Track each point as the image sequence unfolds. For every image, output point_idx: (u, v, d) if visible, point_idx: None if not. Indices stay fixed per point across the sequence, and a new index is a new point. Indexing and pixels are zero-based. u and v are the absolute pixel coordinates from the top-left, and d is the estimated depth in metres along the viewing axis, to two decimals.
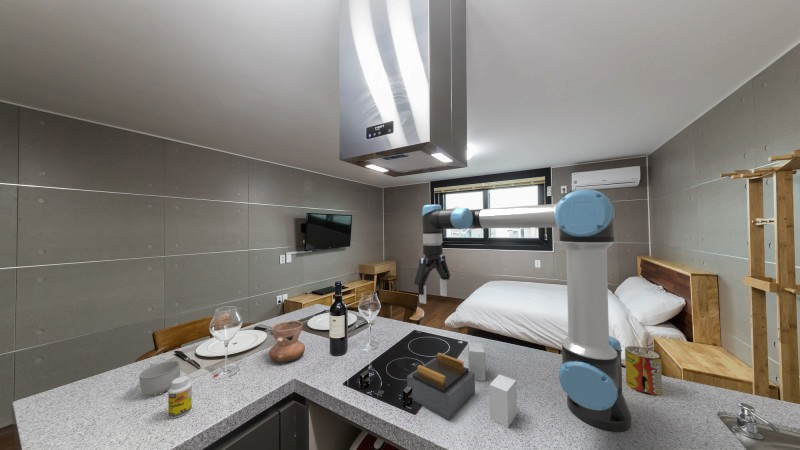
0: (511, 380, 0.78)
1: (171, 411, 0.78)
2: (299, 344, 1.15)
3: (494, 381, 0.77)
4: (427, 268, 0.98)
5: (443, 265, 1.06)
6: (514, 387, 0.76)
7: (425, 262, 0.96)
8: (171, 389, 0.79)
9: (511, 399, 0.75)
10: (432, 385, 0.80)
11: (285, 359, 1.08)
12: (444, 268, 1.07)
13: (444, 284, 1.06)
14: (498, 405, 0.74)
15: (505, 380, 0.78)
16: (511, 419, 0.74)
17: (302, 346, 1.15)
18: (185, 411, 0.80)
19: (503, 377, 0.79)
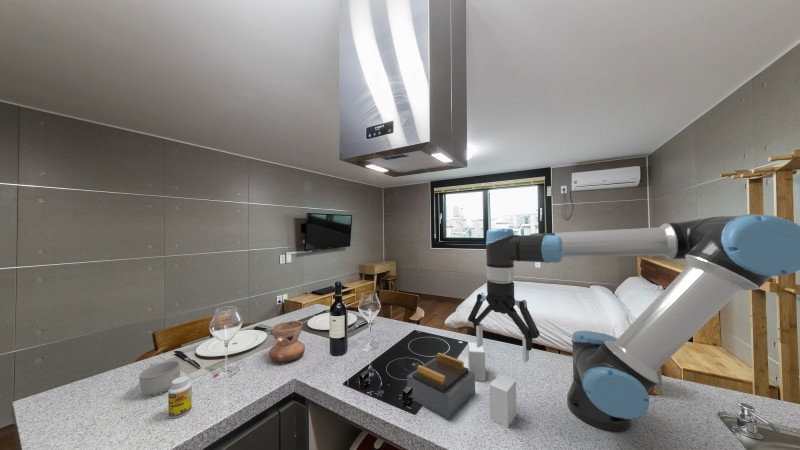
0: (511, 380, 0.77)
1: (171, 411, 0.78)
2: (299, 344, 1.15)
3: (494, 381, 0.77)
4: None
5: None
6: (514, 387, 0.76)
7: (478, 298, 0.80)
8: (171, 389, 0.79)
9: (511, 399, 0.75)
10: (432, 385, 0.80)
11: (285, 359, 1.08)
12: None
13: None
14: (498, 405, 0.74)
15: (505, 380, 0.78)
16: (511, 419, 0.74)
17: (302, 346, 1.15)
18: (185, 411, 0.80)
19: (503, 377, 0.79)
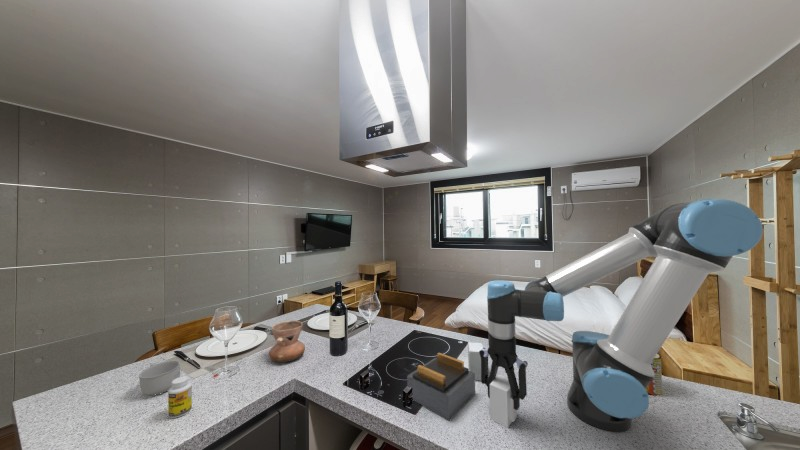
0: None
1: (171, 411, 0.78)
2: (299, 344, 1.15)
3: (494, 381, 0.77)
4: None
5: None
6: None
7: (481, 355, 0.80)
8: (171, 389, 0.79)
9: None
10: (432, 385, 0.80)
11: (285, 359, 1.08)
12: None
13: None
14: (498, 405, 0.74)
15: (505, 380, 0.78)
16: None
17: (302, 346, 1.15)
18: (185, 411, 0.80)
19: (503, 377, 0.79)
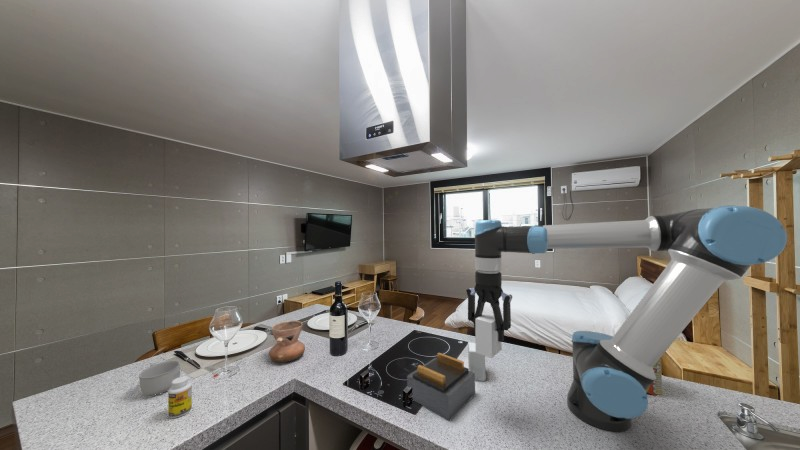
0: None
1: (171, 411, 0.78)
2: (299, 344, 1.15)
3: (480, 317, 0.79)
4: None
5: None
6: None
7: (468, 293, 0.82)
8: (171, 389, 0.79)
9: None
10: (432, 385, 0.80)
11: (285, 359, 1.08)
12: None
13: None
14: (483, 338, 0.76)
15: (491, 316, 0.80)
16: None
17: (302, 346, 1.15)
18: (185, 411, 0.80)
19: (489, 314, 0.81)
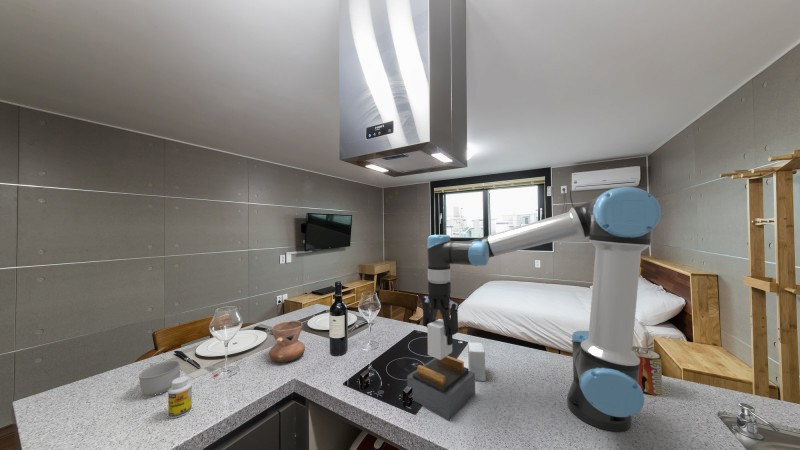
0: None
1: (171, 411, 0.78)
2: (299, 344, 1.15)
3: (433, 322, 0.87)
4: None
5: None
6: None
7: (423, 301, 0.90)
8: (171, 389, 0.79)
9: None
10: (432, 385, 0.80)
11: (285, 359, 1.08)
12: None
13: None
14: (433, 341, 0.84)
15: (442, 322, 0.88)
16: None
17: (302, 346, 1.15)
18: (185, 411, 0.80)
19: (442, 320, 0.89)
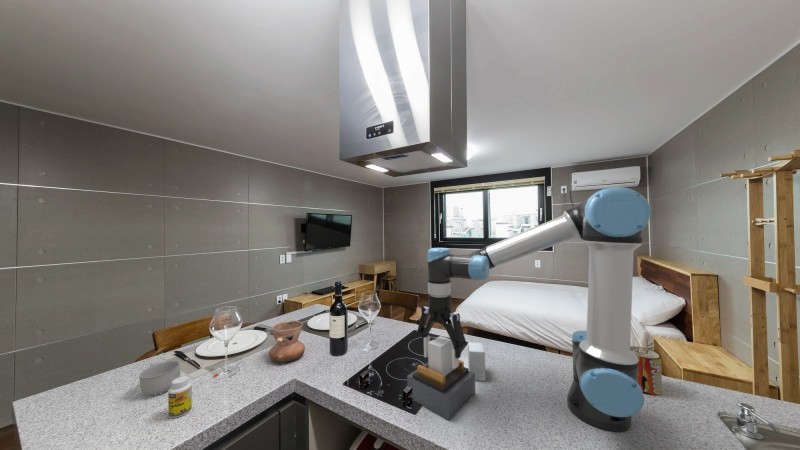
0: (448, 339, 0.88)
1: (171, 411, 0.78)
2: (299, 344, 1.15)
3: (433, 340, 0.87)
4: None
5: None
6: (450, 345, 0.87)
7: (422, 311, 0.90)
8: (171, 389, 0.79)
9: (447, 355, 0.85)
10: (432, 385, 0.80)
11: (285, 359, 1.08)
12: None
13: None
14: (434, 360, 0.84)
15: (443, 339, 0.88)
16: (446, 372, 0.84)
17: (302, 346, 1.15)
18: (185, 411, 0.80)
19: (442, 337, 0.89)
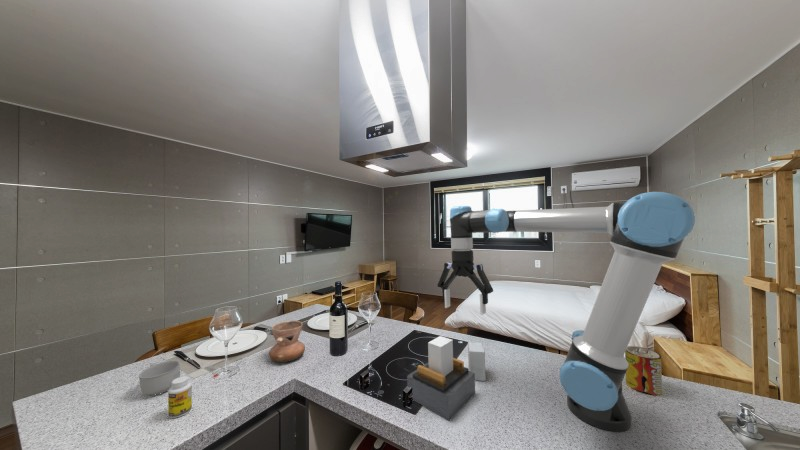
0: (448, 339, 0.88)
1: (171, 411, 0.78)
2: (299, 344, 1.15)
3: (433, 340, 0.87)
4: None
5: None
6: (450, 345, 0.87)
7: (445, 266, 0.96)
8: (171, 389, 0.79)
9: (447, 355, 0.85)
10: (432, 385, 0.80)
11: (285, 359, 1.08)
12: None
13: None
14: (434, 360, 0.84)
15: (443, 339, 0.88)
16: (446, 372, 0.84)
17: (302, 346, 1.15)
18: (185, 411, 0.80)
19: (442, 337, 0.89)
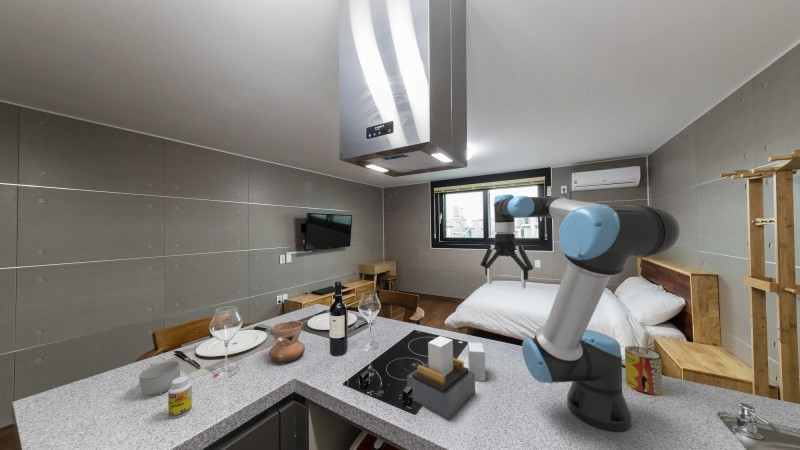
0: (448, 339, 0.88)
1: (171, 411, 0.78)
2: (299, 344, 1.15)
3: (433, 340, 0.87)
4: None
5: None
6: (450, 345, 0.87)
7: (488, 248, 1.09)
8: (171, 389, 0.79)
9: (447, 355, 0.85)
10: (432, 385, 0.80)
11: (285, 359, 1.08)
12: None
13: None
14: (434, 360, 0.84)
15: (443, 339, 0.88)
16: (446, 372, 0.84)
17: (302, 346, 1.15)
18: (185, 411, 0.80)
19: (442, 337, 0.89)
